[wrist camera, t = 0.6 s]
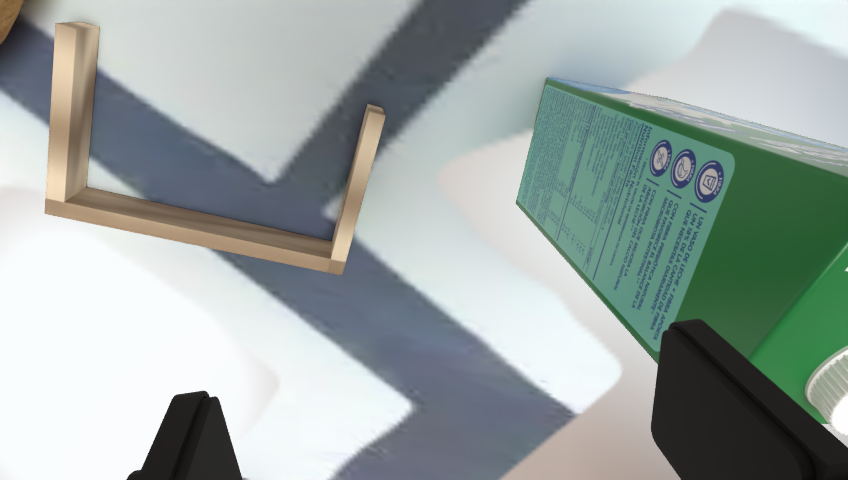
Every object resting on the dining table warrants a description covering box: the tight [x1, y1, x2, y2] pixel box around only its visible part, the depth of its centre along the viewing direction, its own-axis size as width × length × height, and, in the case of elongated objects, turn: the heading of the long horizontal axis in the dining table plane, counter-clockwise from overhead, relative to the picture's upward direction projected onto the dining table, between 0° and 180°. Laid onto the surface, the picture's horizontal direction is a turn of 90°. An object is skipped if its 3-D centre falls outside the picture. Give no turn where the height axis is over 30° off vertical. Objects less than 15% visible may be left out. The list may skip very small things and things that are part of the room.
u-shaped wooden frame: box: [45, 22, 385, 275], centre depth 34 cm, size 11×18×3 cm, turn 73°
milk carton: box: [516, 78, 848, 435], centre depth 27 cm, size 9×9×25 cm
